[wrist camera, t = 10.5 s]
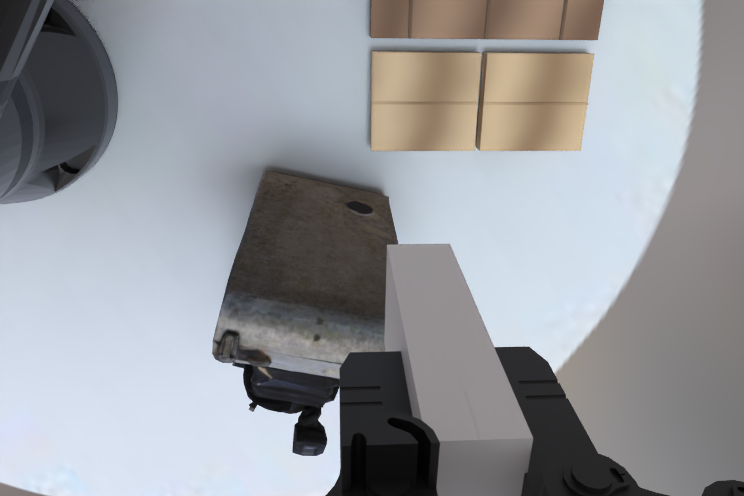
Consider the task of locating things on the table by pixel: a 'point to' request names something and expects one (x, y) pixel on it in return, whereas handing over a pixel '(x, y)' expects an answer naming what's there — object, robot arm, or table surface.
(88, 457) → the table surface
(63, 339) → the table surface
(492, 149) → the oak plank
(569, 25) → the walnut row
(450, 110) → the oak plank
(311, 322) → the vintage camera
